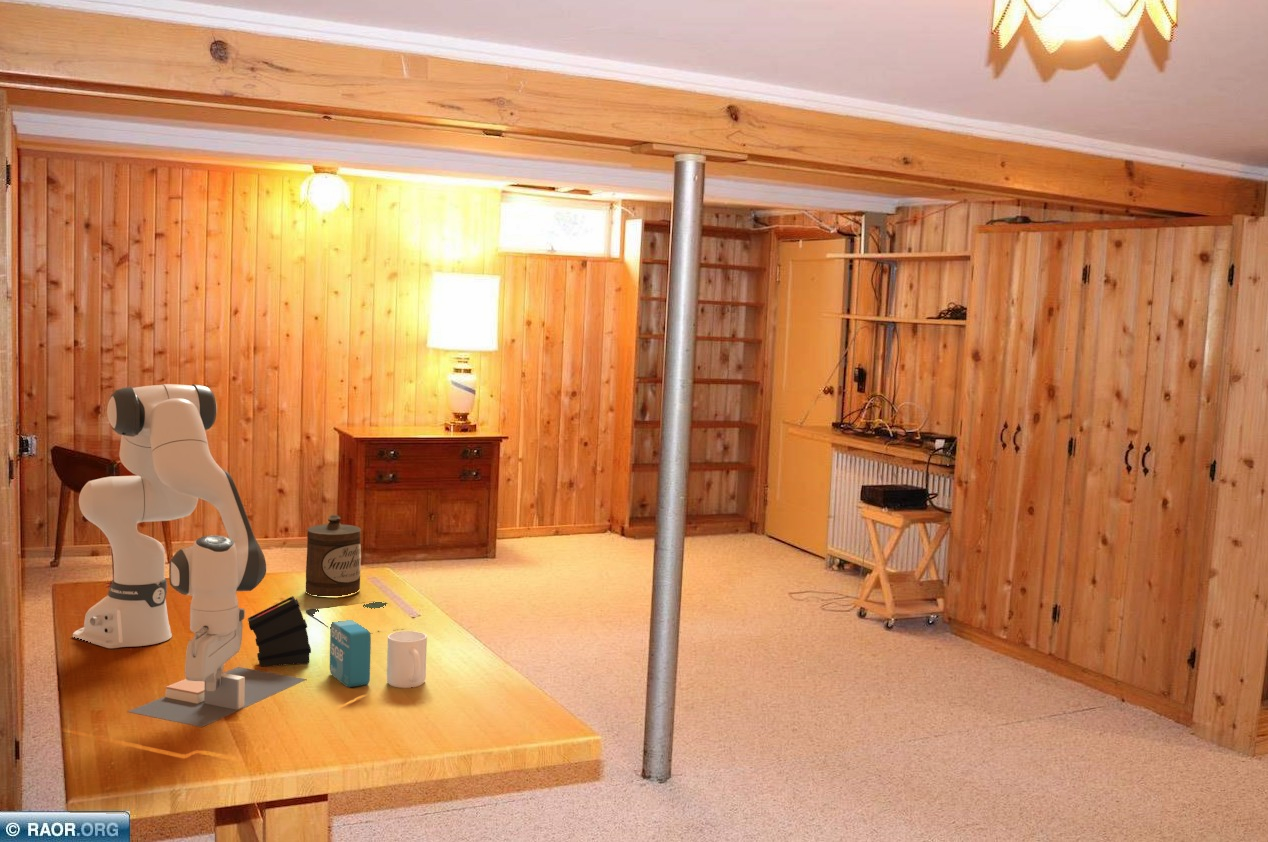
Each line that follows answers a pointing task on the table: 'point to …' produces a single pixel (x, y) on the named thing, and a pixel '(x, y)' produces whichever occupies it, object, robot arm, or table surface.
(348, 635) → the data package
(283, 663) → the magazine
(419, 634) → the mug
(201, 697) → the peach flat block
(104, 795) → the table surface
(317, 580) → the wooden container
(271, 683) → the mat
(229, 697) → the light grey flat block
